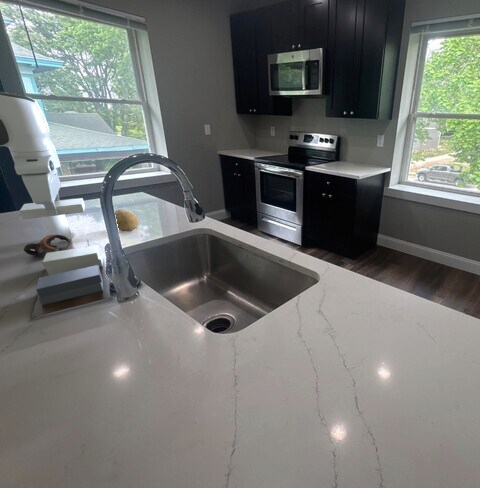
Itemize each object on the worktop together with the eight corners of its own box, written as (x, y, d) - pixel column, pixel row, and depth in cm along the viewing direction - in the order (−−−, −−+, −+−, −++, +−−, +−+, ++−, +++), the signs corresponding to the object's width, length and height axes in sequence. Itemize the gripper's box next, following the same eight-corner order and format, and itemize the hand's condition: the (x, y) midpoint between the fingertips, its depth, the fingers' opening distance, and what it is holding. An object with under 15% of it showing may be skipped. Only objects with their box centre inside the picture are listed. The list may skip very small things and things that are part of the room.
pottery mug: (66, 247, 109) (69, 231, 106) (73, 266, 106) (77, 250, 102) (20, 250, 100) (22, 232, 96) (26, 271, 96) (28, 253, 92)
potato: (119, 238, 117) (113, 219, 114) (109, 228, 126) (104, 210, 122) (146, 232, 124) (141, 214, 120) (135, 222, 132) (131, 205, 129)
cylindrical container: (62, 243, 112) (37, 176, 101) (43, 242, 111) (16, 175, 101) (77, 235, 118) (55, 172, 107) (59, 234, 118) (35, 171, 107)
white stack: (47, 277, 88) (41, 263, 86) (50, 267, 93) (45, 253, 91) (102, 266, 95) (98, 252, 93) (102, 257, 100) (98, 244, 98)
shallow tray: (33, 322, 73) (30, 317, 72) (49, 266, 96) (47, 262, 96) (111, 302, 81) (109, 297, 80) (108, 255, 105) (107, 251, 104)
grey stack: (41, 306, 76) (34, 289, 74) (45, 292, 82) (38, 276, 79) (104, 290, 83) (99, 275, 81) (104, 279, 88) (99, 264, 86)
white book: (23, 219, 79) (19, 210, 78) (27, 212, 84) (24, 203, 83) (84, 212, 86) (81, 203, 85) (85, 205, 91) (82, 198, 89)
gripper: (28, 155, 85) (46, 202, 91) (12, 169, 70) (34, 224, 75) (57, 154, 88) (72, 199, 94) (48, 167, 73) (66, 220, 79)
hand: (55, 210), depth 85 cm, fingers closed on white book, 6 cm apart
